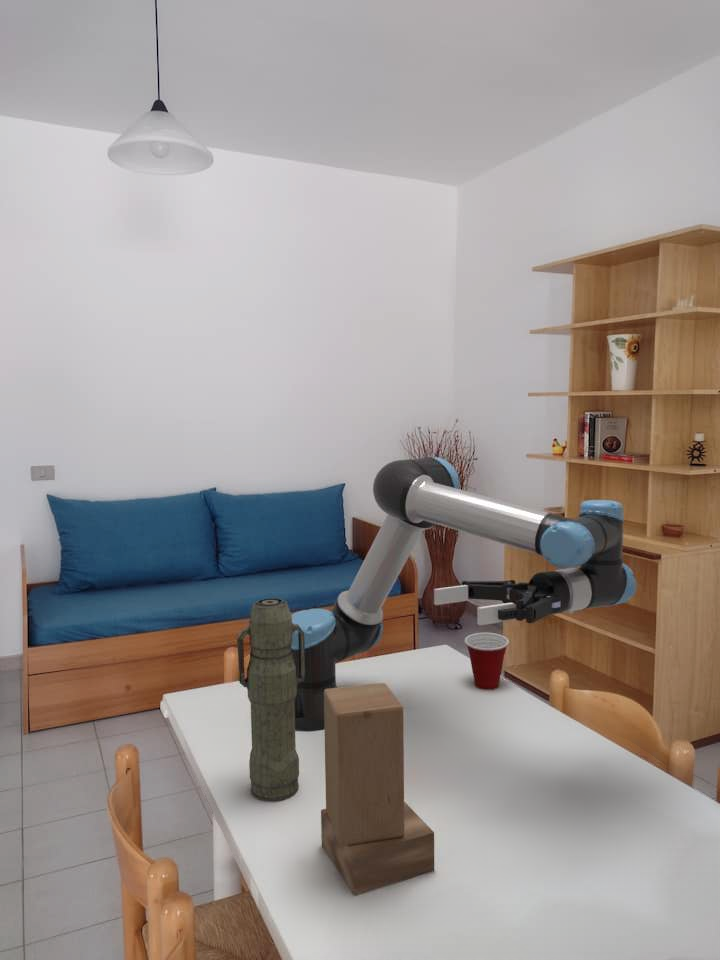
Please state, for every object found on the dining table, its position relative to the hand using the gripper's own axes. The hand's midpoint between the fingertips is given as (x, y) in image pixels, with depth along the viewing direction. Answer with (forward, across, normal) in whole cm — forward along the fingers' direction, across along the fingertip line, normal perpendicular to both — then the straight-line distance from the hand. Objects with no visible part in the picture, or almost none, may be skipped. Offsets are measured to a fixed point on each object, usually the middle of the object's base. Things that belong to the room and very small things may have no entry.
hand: (455, 606), depth 120 cm
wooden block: (+20, -6, -30) cm, 36 cm away
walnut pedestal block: (+18, -6, -36) cm, 40 cm away
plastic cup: (-37, +46, -36) cm, 69 cm away
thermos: (+26, +21, -36) cm, 49 cm away
